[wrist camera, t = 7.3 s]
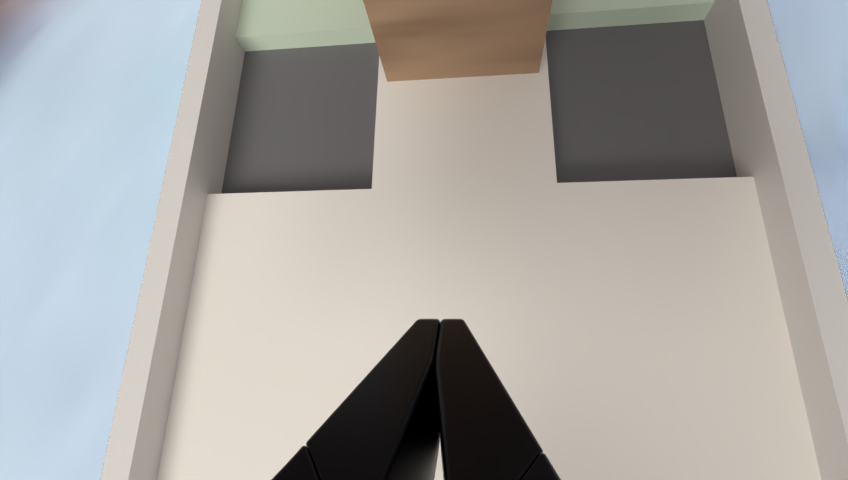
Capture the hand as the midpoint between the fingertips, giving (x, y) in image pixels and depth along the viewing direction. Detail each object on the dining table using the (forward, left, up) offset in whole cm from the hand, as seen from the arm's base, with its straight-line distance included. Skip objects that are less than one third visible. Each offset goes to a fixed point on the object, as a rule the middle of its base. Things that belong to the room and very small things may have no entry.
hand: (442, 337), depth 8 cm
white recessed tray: (+8, -4, -14) cm, 16 cm away
